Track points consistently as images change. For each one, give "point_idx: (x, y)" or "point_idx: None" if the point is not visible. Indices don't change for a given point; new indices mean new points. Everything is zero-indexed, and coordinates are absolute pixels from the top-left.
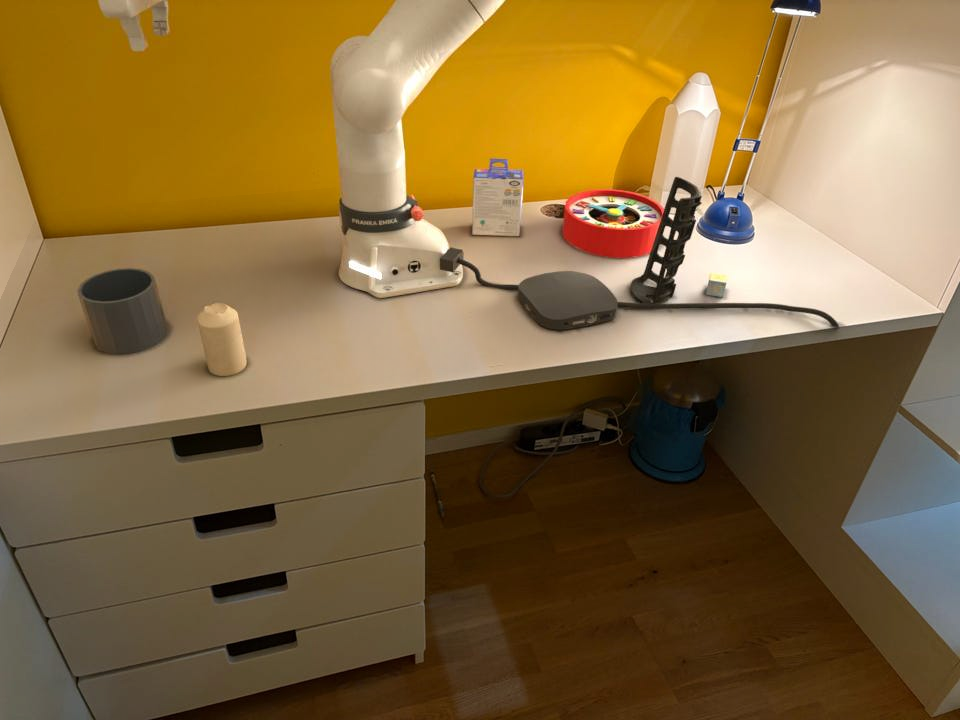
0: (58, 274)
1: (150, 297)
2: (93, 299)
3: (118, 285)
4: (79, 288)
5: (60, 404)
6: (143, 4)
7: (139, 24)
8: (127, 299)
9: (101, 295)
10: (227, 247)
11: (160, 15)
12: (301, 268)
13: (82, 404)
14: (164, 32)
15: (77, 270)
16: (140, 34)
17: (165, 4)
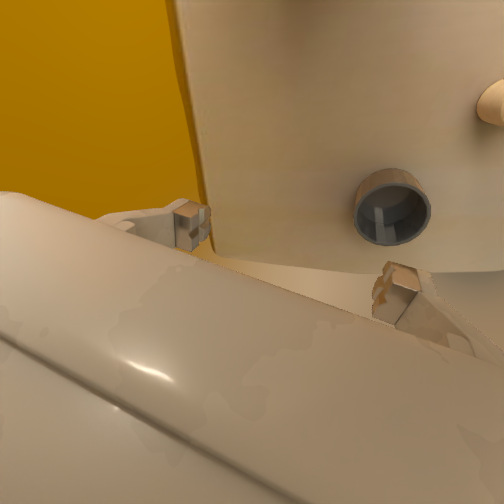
0: (268, 249)
1: (415, 185)
2: (370, 231)
3: (357, 213)
4: (383, 244)
5: (479, 242)
6: (490, 382)
7: (467, 334)
8: (430, 206)
9: (363, 225)
10: (239, 120)
11: (157, 232)
12: (299, 20)
13: (490, 228)
14: (206, 212)
15: (264, 238)
16: (451, 308)
17: (125, 225)
